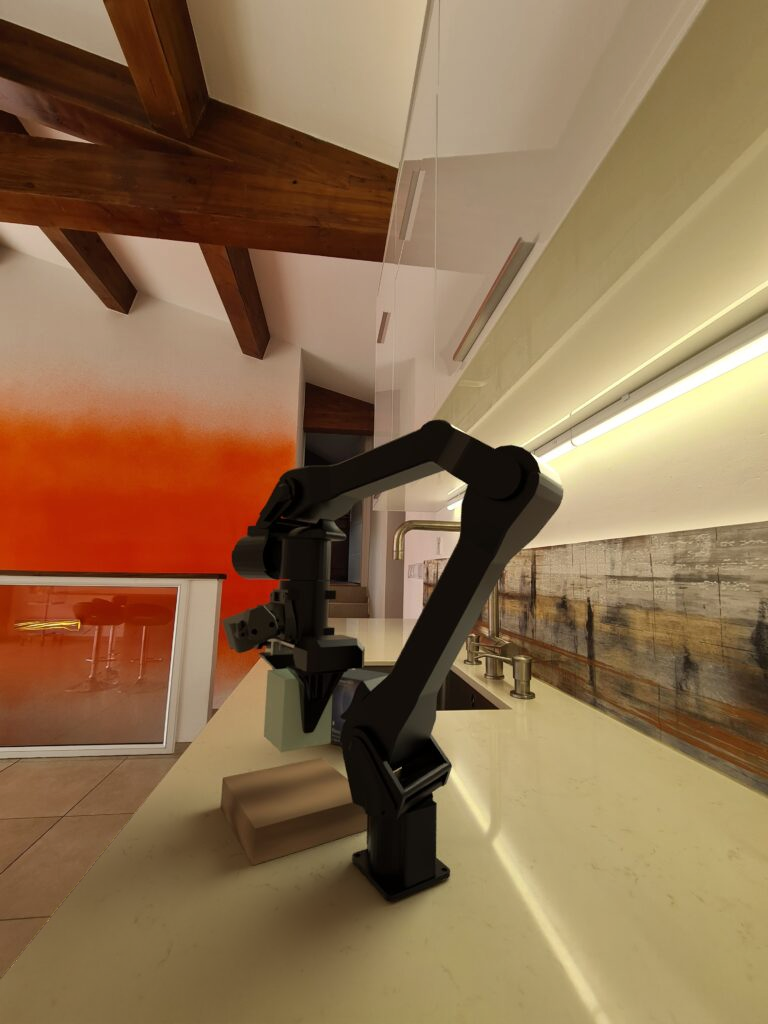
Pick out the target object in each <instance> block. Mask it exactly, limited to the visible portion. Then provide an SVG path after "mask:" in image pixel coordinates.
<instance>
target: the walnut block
mask: <svg viewBox="0 0 768 1024" xmlns="http://www.w3.org/2000/svg"><path fill="white" fill-rule="evenodd" d="M221 784H222V785H221V797H220V809H221V810H222V812H223V813H224V816H225V818H226V820H227V822H228V823H229V825H230V827H231V828H232V831H233V832H234V834H235V836H236V838H237V840H238V842H239V843H240V845H241V847H242V849H243V850H244V852H245V854H246V856H247V858H248V860H249V862H250V864H251V865H252V866H256V865H259V864H262V863H265V862H268V861H272V860H275V859H279V858H281V857H284V856H288V855H291V854H294V853H298V852H300V851H304V850H307V849H311V848H313V847H314V848H315V847H317V846H320V845H323V844H325V843H329V842H333V841H335V840H336V841H337V840H340V839H342V838H345V837H349V836H351V835H355V834H358V833H361V832H364V831H367V814H365V809H363V807H361V806H359V805H357V804H354V803H353V801H352V797H351V792H350V787H349V782H348V777H347V776H344V775H343V774H342V773H341V772H339V770H337V769H336V768H334V766H332V765H331V764H330V763H328V762H327V761H326V760H325V759H323V758H322V757H318V758H313V759H308V760H303V761H297V762H294V763H289V764H288V763H287V764H284V765H283V764H282V765H278V766H272V767H268V768H264V769H259V770H254V771H249V772H244V773H240V774H234V775H228V776H224V777H222V783H221Z"/></svg>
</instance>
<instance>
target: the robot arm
mask: <svg viewBox="0 0 768 1024" xmlns="http://www.w3.org/2000/svg"><path fill="white" fill-rule="evenodd" d="M444 471H446V472H447V473H448V474H450V475H451V476H453V477H454V478H455V479H457V480H459V481H461V482H463V483H465V484H466V485H467V486H466V488H465V491H464V494H463V497H462V501H461V506H460V521H459V522H460V525H459V537H458V540H457V543H456V545H455V547H454V548H453V550H452V553H451V554H450V556H449V558H448V560H447V562H446V564H445V565H444V568H443V570H442V572H441V574H440V575H439V578H438V580H437V581H436V583H435V585H434V587H433V589H432V591H431V593H430V595H429V597H428V599H427V601H426V602H425V605H424V606H423V609H422V610H421V613H420V615H419V616H418V619H417V620H416V622H415V624H414V626H413V628H412V629H411V632H410V633H409V635H408V637H407V639H406V641H405V643H404V646H403V647H402V649H401V651H400V653H399V655H398V656H397V659H396V661H395V663H394V664H393V666H392V668H391V671H390V672H389V674H388V675H384V676H380V677H376V678H372V679H368V680H364V681H361V682H360V683H359V685H358V686H357V688H356V690H355V692H354V695H353V698H352V701H351V704H350V706H349V707H348V709H347V710H346V711H345V712H344V713H343V714H341V716H340V717H341V719H344V720H346V721H345V722H344V724H343V726H342V729H341V732H340V739H339V740H340V743H341V744H342V746H341V752H342V758H343V761H344V762H343V763H344V767H345V772H346V778H347V779H348V782H349V787H350V792H351V797H352V801H353V803H354V804H357V805H359V806H361V807H363V809H365V814H367V830H366V848H364V849H361V850H359V851H355V852H353V853H352V855H351V860H352V861H351V862H352V863H353V864H354V865H355V866H356V868H358V869H359V871H360V872H361V873H362V874H363V875H364V876H365V878H367V879H368V881H369V882H370V883H371V884H372V885H373V886H374V887H375V889H377V891H378V892H379V893H380V894H381V895H382V897H383V898H384V899H385V900H386V901H389V902H394V901H397V900H399V899H402V898H405V897H406V896H409V895H411V894H414V893H416V892H418V891H421V890H423V889H426V888H427V887H431V886H433V885H435V884H437V883H439V882H442V881H444V880H447V879H449V878H450V877H451V869H450V868H449V866H447V865H446V863H444V862H443V861H442V860H440V859H439V858H438V857H437V831H438V830H437V821H438V820H437V818H438V817H437V815H438V813H437V812H438V811H437V810H438V809H437V807H438V803H437V802H436V801H434V793H433V792H435V791H436V790H438V789H440V788H441V787H444V786H445V785H447V783H448V780H449V777H450V774H451V771H452V767H453V765H452V762H451V761H450V759H449V758H448V757H447V755H446V753H445V752H444V751H443V749H442V748H441V746H440V745H439V743H438V742H437V740H436V739H435V737H434V736H433V734H432V733H433V730H434V726H435V724H436V720H437V703H438V702H437V697H438V694H439V690H440V689H441V687H442V686H443V683H444V682H445V680H446V677H447V676H448V674H449V673H450V670H451V668H452V667H453V665H454V663H455V661H456V660H457V657H458V655H459V653H460V652H461V650H462V648H463V647H464V644H465V642H466V641H467V640H468V637H469V635H470V634H471V631H472V629H473V628H474V627H475V624H476V623H477V621H478V619H479V617H480V615H481V613H482V611H483V609H484V607H485V605H486V604H487V602H488V600H489V599H490V597H491V596H492V593H493V591H494V589H495V588H496V585H497V583H498V581H499V580H500V578H501V576H502V574H503V573H504V571H505V569H506V567H507V566H508V564H509V563H510V561H511V560H513V558H515V556H516V555H517V554H519V552H521V551H522V550H523V549H524V548H526V547H527V545H529V543H531V542H532V541H533V540H534V539H535V538H536V537H537V536H538V535H539V534H540V532H541V531H542V530H543V529H544V527H545V526H546V525H547V523H548V522H549V521H550V520H551V519H552V517H553V516H554V515H555V513H556V512H557V511H558V510H559V508H560V506H561V504H562V501H563V500H564V499H563V497H564V488H563V483H562V481H561V478H560V476H559V474H558V473H557V472H556V470H555V469H554V468H553V467H551V466H550V465H548V464H547V463H546V462H544V461H543V460H541V459H540V458H539V457H537V456H536V455H534V454H533V453H531V451H529V450H527V449H525V448H524V447H522V446H518V445H513V444H507V445H500V446H498V447H496V448H495V447H492V446H491V445H489V444H487V443H485V442H483V441H482V440H479V439H478V438H476V437H473V436H471V435H469V434H468V433H466V432H465V431H463V430H462V429H460V428H459V427H457V426H455V425H453V424H452V423H450V422H449V421H447V420H445V419H432V420H428V421H427V422H425V423H424V424H423V425H422V426H421V427H420V428H419V429H416V430H414V431H411V432H409V433H406V434H404V435H402V436H400V437H399V436H398V437H397V438H395V439H393V440H390V441H388V442H386V443H383V444H381V445H379V446H376V447H373V448H372V449H369V450H366V451H364V452H363V453H360V454H357V455H355V456H352V457H351V458H348V459H346V460H343V461H341V462H338V463H334V464H329V465H328V464H327V465H325V464H324V465H322V464H321V465H306V466H305V465H304V466H300V467H297V468H291V469H289V470H287V471H285V472H283V474H282V475H281V476H280V477H279V478H278V481H277V483H275V486H274V488H273V490H272V492H271V494H270V496H269V498H268V499H267V501H266V503H265V505H264V506H263V508H262V509H261V510H260V512H258V513H259V517H258V518H257V521H256V522H255V524H254V525H247V533H246V535H244V536H243V537H241V538H240V539H239V540H238V541H237V542H236V543H235V545H234V548H233V550H232V551H231V564H232V567H233V569H234V571H235V572H236V574H237V575H238V576H239V577H241V578H242V579H245V580H269V581H271V580H272V581H273V580H275V581H278V580H279V581H278V588H273V589H272V591H270V594H269V602H267V603H264V604H257V605H256V606H255V607H252V608H247V609H245V610H244V611H241V612H239V613H236V614H234V615H230V616H229V617H227V618H224V619H222V620H221V623H222V627H223V631H224V633H225V637H226V641H227V644H228V647H229V649H230V650H234V651H235V653H237V654H241V653H247V652H249V651H250V650H251V651H252V650H253V649H255V650H262V649H263V647H265V649H264V651H262V652H258V656H259V657H260V658H261V659H262V660H263V661H264V662H266V663H267V664H268V666H270V667H271V670H276V669H288V670H289V671H290V673H291V674H292V675H293V676H294V677H295V678H296V679H297V680H298V682H299V693H300V707H301V720H302V728H303V732H304V733H305V734H307V733H312V732H314V730H315V728H316V726H317V724H318V722H319V720H320V718H321V716H322V714H323V712H324V710H325V708H326V706H327V703H328V701H329V700H330V697H331V695H332V694H333V692H334V690H335V688H336V686H337V685H338V683H339V681H340V679H341V678H342V676H343V674H344V672H348V671H349V669H354V668H355V669H362V668H364V667H365V655H366V654H365V650H366V649H365V648H366V647H365V646H364V645H363V644H362V642H361V641H360V640H359V639H358V638H357V637H353V636H348V635H344V634H335V630H336V629H335V627H333V626H329V607H330V606H329V605H330V604H329V603H330V600H336V599H337V595H336V594H337V590H334V589H330V585H331V584H330V580H331V579H330V578H331V559H332V558H331V556H332V542H341V541H346V539H347V535H346V534H345V533H344V531H342V530H341V529H340V528H339V527H338V526H337V525H336V523H335V521H336V520H338V519H340V518H341V517H343V516H345V515H347V514H348V513H349V512H350V510H351V509H352V508H353V506H354V505H355V504H357V503H358V502H360V501H362V500H364V499H366V498H369V497H370V498H371V497H373V496H376V495H378V494H382V493H384V492H387V491H389V490H392V489H396V488H399V487H401V486H404V485H407V484H410V483H412V482H415V481H419V480H421V479H425V478H427V477H429V476H432V475H433V476H434V475H435V474H438V473H441V472H444Z"/></svg>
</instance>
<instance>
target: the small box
mask: <svg viewBox="0 0 768 1024" xmlns="http://www.w3.org/2000/svg"><path fill="white" fill-rule="evenodd" d="M389 673H390V672H389ZM389 673H387V672H380V671H376V670H367V669H362V668H354V669H349V671H348V672H344V674H343V676H342V678H341V679H340V681H339V683H338V685H337V686H336V688H335V690H334V692H333V694H332V717H331V743H330V744H333V745H336V746H341V747H342V744H341V743H340V740H339V739H340V732H341V729H342V726H343V724H344V722H345V721H346V720H344V719H341V717H340V716H341V714H343V713H344V712H345V711H346V710H347V709H348V707H349V706H350V704H351V701H352V698H353V695H354V692H355V690H356V688H357V686H358V685H359V683H360V682H361V681H364V680H368V679H372V678H376V677H380V676H384V675H388V674H389Z"/></svg>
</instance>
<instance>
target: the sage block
mask: <svg viewBox="0 0 768 1024" xmlns="http://www.w3.org/2000/svg"><path fill="white" fill-rule="evenodd" d="M266 674H267V675H266V676H267V677H266V691H265V692H266V694H265V708H264V711H265V712H264V723H263V724H264V727H263V728H264V729H263V737H264V738H265V739H266V740H267V741H269V743H271V744H272V745H273V746H274V748H276V749H277V750H278V751H279V752H280V753H284V752H285V753H286V752H289V751H295V750H296V751H297V750H301V749H306V748H307V749H308V748H310V747H316V746H322V745H328V744H332V743H331V717H332V695H331V697H330V700H329V701H328V703H327V706H326V708H325V710H324V712H323V714H322V716H321V718H320V720H319V722H318V724H317V726H316V728H315V730H314V732H312V733H307V734H305V733H304V732H303V728H302V720H301V707H300V693H299V682H298V680H297V679H296V678H295V677H294V676H293V675H292V674H291V673H290V671H289V670H288V669H276V670H273V669H268V670H267V673H266Z"/></svg>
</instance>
